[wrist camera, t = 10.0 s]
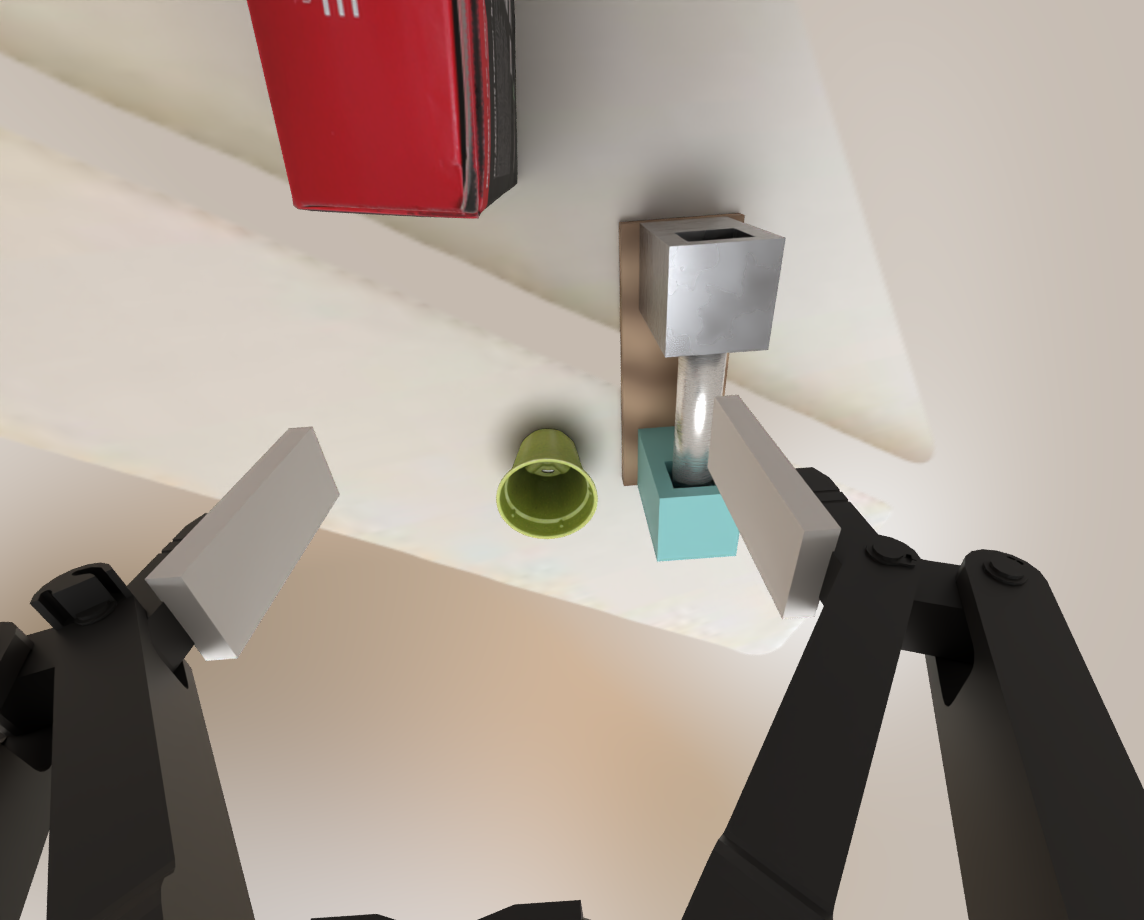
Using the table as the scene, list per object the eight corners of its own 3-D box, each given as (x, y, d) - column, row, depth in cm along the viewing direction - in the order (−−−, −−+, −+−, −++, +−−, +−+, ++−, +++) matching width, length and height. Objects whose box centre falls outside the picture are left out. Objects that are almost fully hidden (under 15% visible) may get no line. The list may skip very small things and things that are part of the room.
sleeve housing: (639, 223, 39) (669, 246, 29) (726, 216, 39) (785, 237, 29) (639, 310, 43) (665, 357, 33) (717, 304, 43) (767, 349, 33)
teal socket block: (637, 428, 49) (659, 498, 39) (706, 423, 49) (745, 492, 39) (637, 484, 53) (657, 561, 43) (701, 480, 53) (735, 555, 43)
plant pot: (591, 486, 55) (597, 538, 48) (508, 489, 55) (501, 541, 47) (591, 412, 50) (598, 457, 43) (499, 415, 50) (490, 460, 42)
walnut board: (619, 222, 41) (621, 224, 39) (738, 213, 40) (744, 214, 39) (622, 478, 54) (623, 486, 53) (711, 471, 54) (715, 479, 53)
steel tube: (675, 313, 36) (686, 327, 34) (722, 309, 36) (737, 323, 33) (667, 494, 46) (674, 518, 43) (704, 492, 46) (714, 515, 43)
